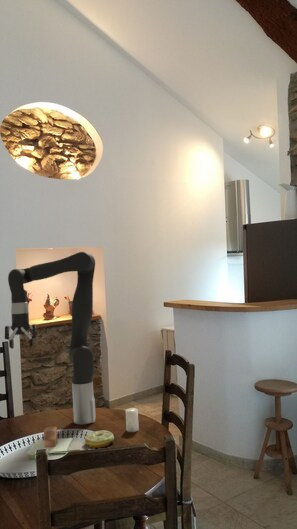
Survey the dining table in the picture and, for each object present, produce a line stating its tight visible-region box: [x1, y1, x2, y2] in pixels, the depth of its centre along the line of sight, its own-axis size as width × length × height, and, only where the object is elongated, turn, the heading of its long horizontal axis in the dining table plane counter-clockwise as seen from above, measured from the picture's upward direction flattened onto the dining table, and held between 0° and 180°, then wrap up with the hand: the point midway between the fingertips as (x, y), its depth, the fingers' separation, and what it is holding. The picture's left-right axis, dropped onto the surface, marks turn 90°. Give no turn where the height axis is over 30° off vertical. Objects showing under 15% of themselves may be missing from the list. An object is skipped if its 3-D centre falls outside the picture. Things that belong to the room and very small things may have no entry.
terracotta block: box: [43, 426, 59, 448], centre depth 155 cm, size 4×4×6 cm
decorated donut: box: [84, 430, 115, 449], centre depth 157 cm, size 10×11×4 cm
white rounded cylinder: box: [125, 407, 140, 433], centre depth 169 cm, size 5×5×8 cm
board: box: [27, 437, 74, 456], centre depth 155 cm, size 14×12×1 cm
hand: (21, 347), depth 189 cm, fingers open, 8 cm apart
